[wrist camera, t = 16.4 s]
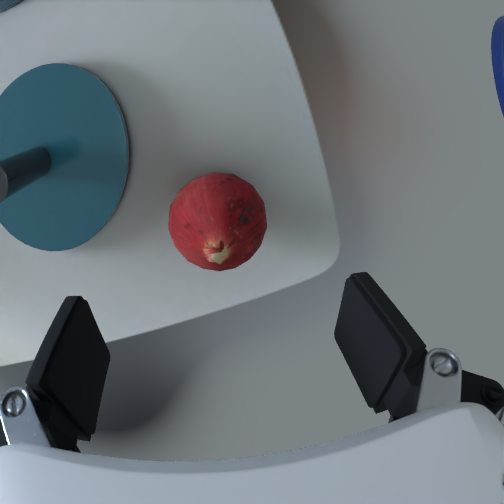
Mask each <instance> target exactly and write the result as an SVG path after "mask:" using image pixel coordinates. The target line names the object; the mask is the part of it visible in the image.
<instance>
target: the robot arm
mask: <svg viewBox="0 0 504 504" xmlns="http://www.w3.org/2000/svg"><path fill="white" fill-rule="evenodd" d="M334 335H335V340H336V342H337V344H338V346H339V348H340V350H341V352H342V354H343V356H344V358H345V360H346V362H347V364H348V366H349V368H350V370H351V372H352V374H353V376H354V378H355V380H356V382H357V384H358V386H359V388H360V390H361V392H362V394H363V396H364V398H365V401H366V402H367V404H368V406H369V407H370V408H372V407H373V409H374V411H375V413H376V414H377V413H380V412H383V411H385V410H388V411H389V413H390V415H391V416H390V419H389V422H388V424H385V425H382V426H379V427H376V428H373V429H370V430H367V431H364V432H361V433H357V434H354V435H351V436H348V437H344V438H341V439H338V440H334V441H330V442H326V443H322V444H318V445H314V446H309V447H305V448H300V449H296V450H290V451H285V452H279V453H274V454H267V455H260V456H253V457H246V458H235V459H224V460H209V461H147V460H133V459H121V458H112V457H105V456H97V455H90V454H84V453H81V452H80V450H79V449H78V447H77V445H76V444H77V439H79V440H85V441H90V439H91V434H94V433H95V429H96V423H97V417H98V412H99V407H100V402H101V397H102V392H103V388H104V383H105V379H106V374H107V370H108V365H109V362H110V353H109V350H108V348H107V346H106V344H105V341H104V339H103V337H102V335H101V333H100V330H99V328H98V326H97V323H96V321H95V319H94V316H93V314H92V311H91V309H90V307H89V304H88V302H87V301H86V300H84V299H83V298H82V296H68V297H66V298H65V300H64V301H63V303H62V305H61V307H60V309H59V311H58V313H57V314H56V316H55V318H54V320H53V322H52V324H51V326H50V328H49V330H48V332H47V334H46V336H45V338H44V340H43V342H42V344H41V346H40V349H39V351H38V353H37V355H36V357H35V360H34V362H33V365H32V367H31V369H30V371H29V374H28V376H27V379H26V381H25V382H26V384H27V387H26V389H25V388H23V387H21V386H13V387H10V388H9V389H7V390H6V391H5V392H4V393H3V394H2V396H1V398H0V504H504V389H503V387H502V386H501V385H500V384H499V383H498V382H497V381H495V380H492V379H489V378H486V377H483V376H479V375H476V374H473V373H470V372H467V371H464V370H462V367H461V362H460V360H459V358H458V357H457V356H456V355H455V354H454V353H453V352H451V351H450V350H447V349H444V348H435V349H432V350H430V351H429V352H427V350H426V349H425V348H426V345H425V344H424V342H423V341H422V340H421V338H420V337H419V336H418V334H417V333H416V332H415V330H414V329H413V328H412V327H411V325H410V324H409V323H408V322H407V320H406V319H405V318H404V316H403V315H402V314H401V313H400V311H399V310H398V309H397V308H396V306H395V305H394V304H393V303H392V301H391V300H390V299H389V298H388V297H387V295H386V294H385V293H384V292H383V290H382V289H381V288H380V287H379V286H378V284H377V283H376V282H375V281H374V280H373V278H372V277H371V276H370V275H369V274H368V273H367V272H361V273H354V274H351V276H350V278H347V279H346V282H345V287H344V292H343V297H342V301H341V306H340V310H339V315H338V319H337V323H336V327H335V332H334Z"/></svg>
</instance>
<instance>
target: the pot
mask: <svg viewBox="0 0 504 504" xmlns="http://www.w3.org/2000/svg"><path fill="white" fill-rule="evenodd" d="M21 1H23V0H0V13H1V12H3V11H6V10H8V9H10V8H12V7H13V6H15V5H17V4H18V3H20V2H21Z"/></svg>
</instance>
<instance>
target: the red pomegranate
mask: <svg viewBox="0 0 504 504" xmlns="http://www.w3.org/2000/svg"><path fill="white" fill-rule="evenodd" d="M266 228H267V223H266V215H265V206H264V202H263V200H262V199H261V197H260V196H259V194H258V193H257V191H256V190H255V188H254V187H253V185H251V184H250V183H248V182H246V181H245V180H243V179H241V178H239V177H238V176H236V175H234V174H225V173H211V174H208V175H204V176H201V177H197V178H195V179H193V180H192V181H191V182H190V183H188V184H187V185H186V186H185V187H183V188H182V189H181V190H180V191H179V193H178V194H177V196H176V198H175V199H174V201H173V203H172V204H171V206H170V214H169V232H170V234H171V237H172V240H173V242H174V245H175V247H176V248H177V249H178V250H179V251H180V253H181V254H182V255H183V256H184V257H185V258H186V259H187V260H188V261H189V262H191V263H193V264H195V265H197V266H199V267H201V268H203V269H209V270H215V271H223V270H228V269H233V268H236V267H238V266H239V265H241V264H243V263H244V262H246V261H248V260H249V259H250V258H251V257H252V256H253V255H254V253H255V252H256V251H257V250H258V248H259V247H260V245H261V243H262V240H263V237H264V234H265V231H266Z"/></svg>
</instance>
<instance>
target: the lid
mask: <svg viewBox="0 0 504 504" xmlns="http://www.w3.org/2000/svg"><path fill="white" fill-rule="evenodd" d="M128 166H129V140H128V134H127V128H126V124H125V120H124V117H123V114H122V112H121V109H120V107H119V104H118V102H117V101H116V99H115V97H114V96H113V94H112V92H111V91H110V90H109V89H108V87H107V86H106V85H105V84H104V83H103V82H102V81H101V80H100V79H99V78H98V77H97V76H95V75H94V74H92V73H90V72H89V71H87V70H85V69H83V68H80V67H77V66H73V65H68V64H54V63H53V64H47V65H42V66H39V67H36V68H34V69H32V70H30V71H28V72H26V73H24V74H23V75H21V76H20V77H18V78H17V79H16V80H14V81H13V82H12V83H11V84H10V85H9V86H8V87H7V88H6V89H5V91H4V92H3V93H2V94H1V95H0V223H1V224H2V225H3V227H4V228H5V229H6V230H7V231H8V232H9V233H10V234H12V235H13V236H14V237H15V238H17V239H18V240H20V241H21V242H23V243H25V244H27V245H29V246H31V247H34V248H37V249H41V250H47V251H61V250H67V249H71V248H74V247H77V246H79V245H81V244H83V243H85V242H86V241H88V240H89V239H91V238H92V237H93V236H95V235H96V234H97V233H98V232H99V231H100V230H101V229H102V228H103V226H104V225H105V224H106V222H107V221H108V220H109V219H110V217H111V216H112V214H113V212H114V211H115V209H116V207H117V205H118V203H119V201H120V199H121V196H122V194H123V190H124V187H125V184H126V179H127V174H128Z"/></svg>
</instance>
